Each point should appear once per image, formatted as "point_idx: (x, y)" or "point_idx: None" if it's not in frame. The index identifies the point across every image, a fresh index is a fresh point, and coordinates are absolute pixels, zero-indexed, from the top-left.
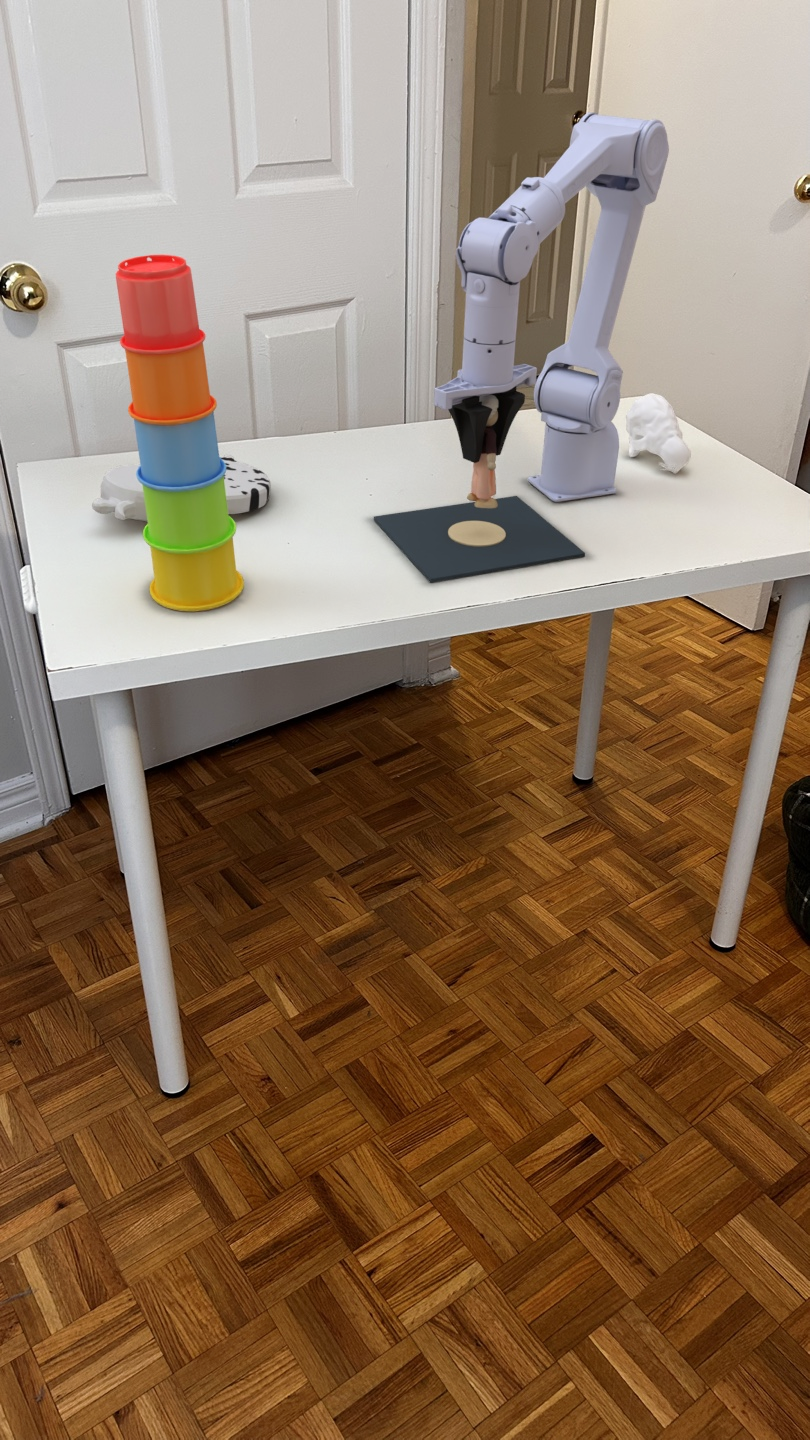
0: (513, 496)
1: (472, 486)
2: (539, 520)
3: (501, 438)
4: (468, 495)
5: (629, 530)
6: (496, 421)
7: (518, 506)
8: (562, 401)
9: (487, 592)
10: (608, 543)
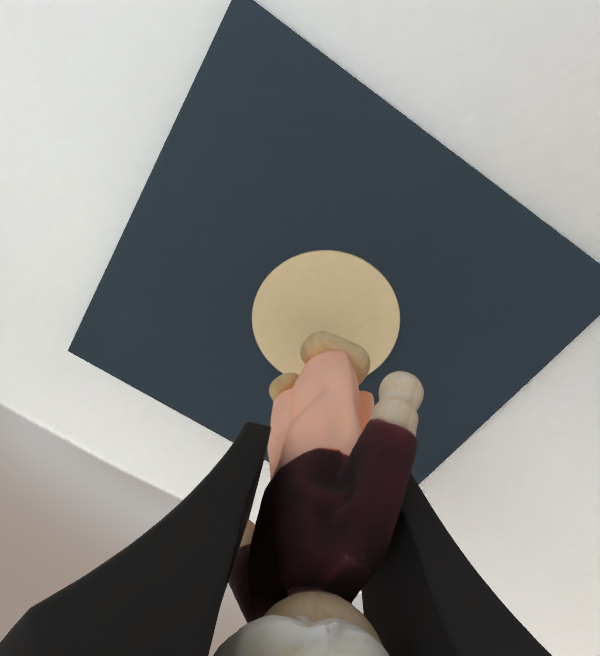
0: None
1: (304, 375)
2: (486, 401)
3: (363, 590)
4: (308, 345)
5: (546, 537)
6: (387, 642)
7: (549, 326)
8: None
9: (129, 443)
10: (462, 527)
